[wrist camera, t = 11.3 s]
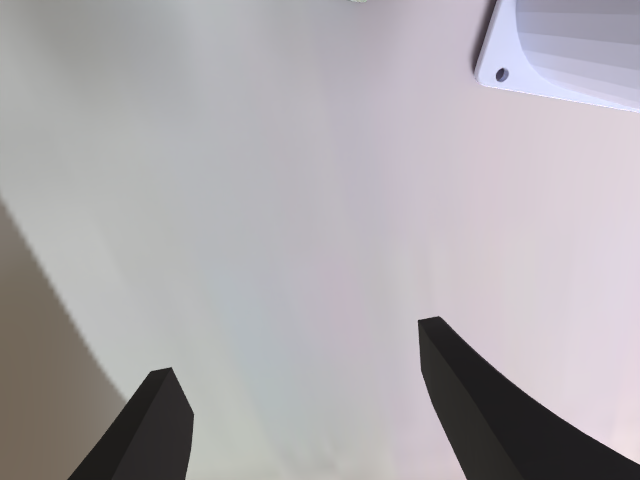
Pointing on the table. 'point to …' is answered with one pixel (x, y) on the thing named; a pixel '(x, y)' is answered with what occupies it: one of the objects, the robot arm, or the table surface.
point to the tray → (358, 0)
